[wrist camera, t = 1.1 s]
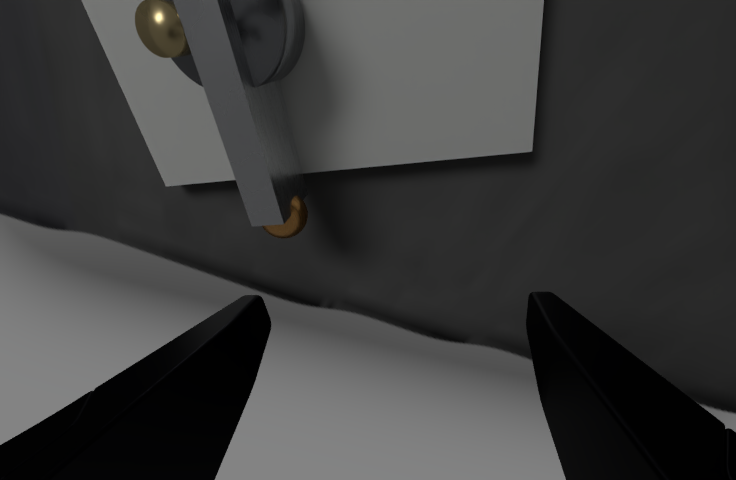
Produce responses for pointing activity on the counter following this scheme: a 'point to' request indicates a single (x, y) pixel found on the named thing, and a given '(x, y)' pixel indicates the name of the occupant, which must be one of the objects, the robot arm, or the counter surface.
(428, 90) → the white mechanism board
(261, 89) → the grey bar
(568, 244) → the counter surface
